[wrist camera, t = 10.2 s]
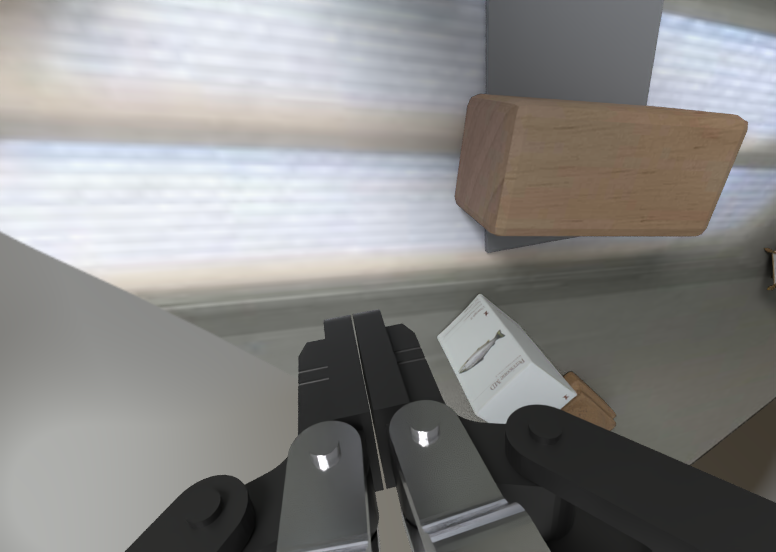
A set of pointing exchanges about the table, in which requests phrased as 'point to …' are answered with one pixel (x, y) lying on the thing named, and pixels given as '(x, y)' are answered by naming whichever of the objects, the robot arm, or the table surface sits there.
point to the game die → (774, 265)
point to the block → (593, 167)
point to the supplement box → (500, 364)
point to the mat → (569, 58)
